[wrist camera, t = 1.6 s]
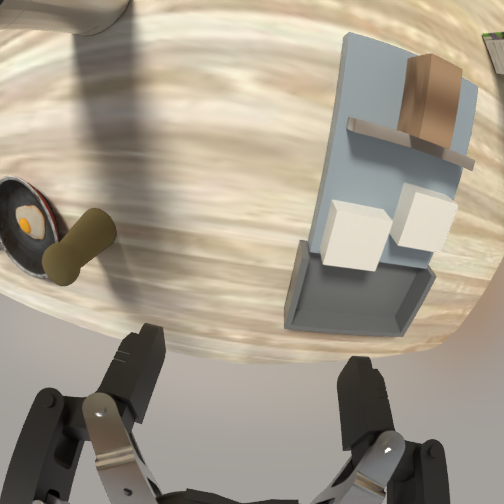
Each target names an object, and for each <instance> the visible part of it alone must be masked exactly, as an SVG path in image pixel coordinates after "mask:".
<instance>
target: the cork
mask: <svg viewBox="0 0 504 504" xmlns="http://www.w3.org/2000/svg"><path fill="white" fill-rule="evenodd" d="M115 237H116V228H115V225H114V222H113V221H112V219H111V217H110V216H109V215H108V214H107V213H106V212H104V211H103V210H101V209H97V208H92V209H89V210H87V211H86V212H85V213H84V214H83V215H82V217H81V218H80V219H79V220H78V221H77V222H76V223H75V225H74V226H73V227H72V228H71V229H70V230H69V232H68V233H67V234H66V235H65V236H64V238H63V239H62V240H61V241H60V242H57V243H54V244H52V245H51V246H49V247H48V248H47V249H46V250H45V252H44V254H43V258H42V265H43V269H44V271H45V273H46V275H47V276H48V277H49V279H50V280H51V281H52V282H54V283H55V284H57V285H60V286H68V285H70V284H72V283H73V282H74V281H75V280H76V279H77V277H78V276H79V273H80V268H81V267H83V266H84V265H85V264H86V263H88V262H89V261H90V260H91V259H93V258H94V257H95V256H97V255H98V254H99V253H100V252H102V251H103V250H104V249H106V248H107V247H108V246H110V245H111V244H112V243H113V242H114V240H115Z"/></svg>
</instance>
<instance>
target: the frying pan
mask: <svg viewBox="0 0 504 504" xmlns="http://www.w3.org/2000/svg"><path fill="white" fill-rule="evenodd" d="M57 242H59V235H58V229H57V224H56V221H55V217H54V215H53V213H52V210H51V208H50V206H49V205H48V203H47V201H46V200H45V198H44V197H43V196H42V195H41V194H40V193H39V191H38V190H36V189H35V188H34V187H33V186H32V185H30V184H29V183H27V182H25V181H24V180H23V179H21V178H18V177H16V176H9V175H8V176H5V177H2V178H1V179H0V243H1V245H2V247H3V249H4V250H5V252H6V253H7V255H8V256H9V257H10V259H11V260H12V261H13V262H14V263H15V264H16V266H17V267H19V268H20V269H21V270H22V271H23V272H25V273H27V274H28V275H30V276H32V277H35V278H40V279H45V278H49V277H48V276H47V275H46V273H45V271H44V269H43V265H42V258H43V254H44V252H45V250H46V249H47V248H48V247H49V246H51V245H52V244H54V243H57Z"/></svg>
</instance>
